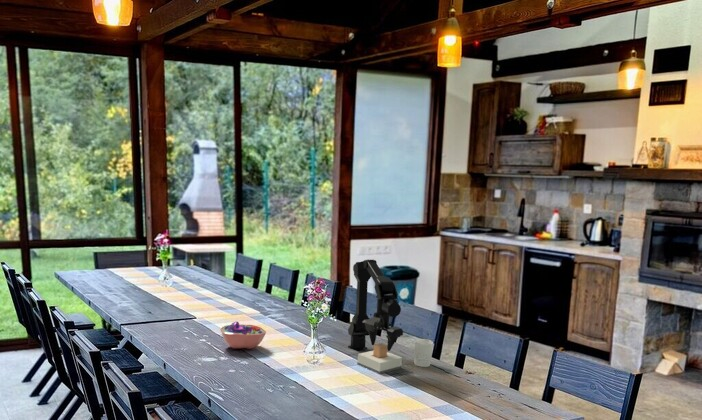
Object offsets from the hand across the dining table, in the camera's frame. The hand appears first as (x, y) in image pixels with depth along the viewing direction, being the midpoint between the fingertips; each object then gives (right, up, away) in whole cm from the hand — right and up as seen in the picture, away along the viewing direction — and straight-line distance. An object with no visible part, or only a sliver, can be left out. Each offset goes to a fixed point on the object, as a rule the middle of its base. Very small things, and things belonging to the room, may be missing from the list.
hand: (380, 347), depth 227 cm
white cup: (+18, -9, +7) cm, 21 cm away
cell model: (-60, -3, +12) cm, 61 cm away
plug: (-1, -7, 0) cm, 7 cm away
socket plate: (-1, -8, +1) cm, 8 cm away
